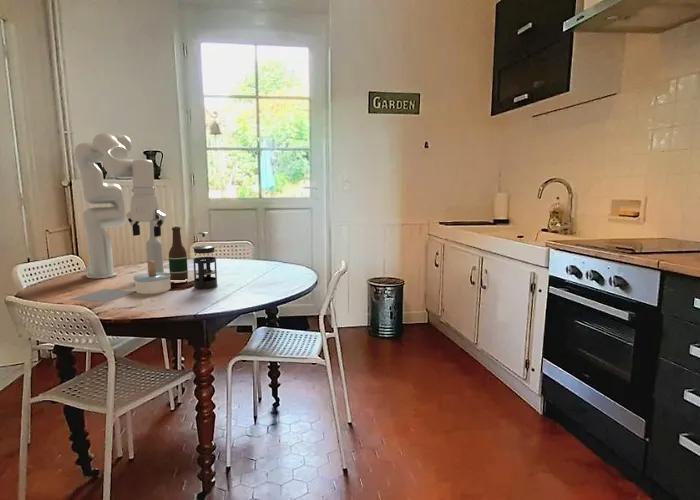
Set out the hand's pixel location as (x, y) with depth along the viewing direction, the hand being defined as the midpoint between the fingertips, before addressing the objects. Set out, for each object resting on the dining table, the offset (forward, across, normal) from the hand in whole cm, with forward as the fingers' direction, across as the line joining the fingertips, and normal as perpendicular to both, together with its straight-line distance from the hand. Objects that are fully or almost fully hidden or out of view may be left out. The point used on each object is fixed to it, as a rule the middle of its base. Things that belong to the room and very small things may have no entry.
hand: (147, 235), depth 177 cm
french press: (+22, +18, +12) cm, 31 cm away
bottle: (+23, -14, +22) cm, 35 cm away
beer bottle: (+23, 0, +18) cm, 29 cm away
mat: (+22, -11, -12) cm, 28 cm away
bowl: (+22, +1, 0) cm, 22 cm away
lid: (+17, +1, 0) cm, 17 cm away
